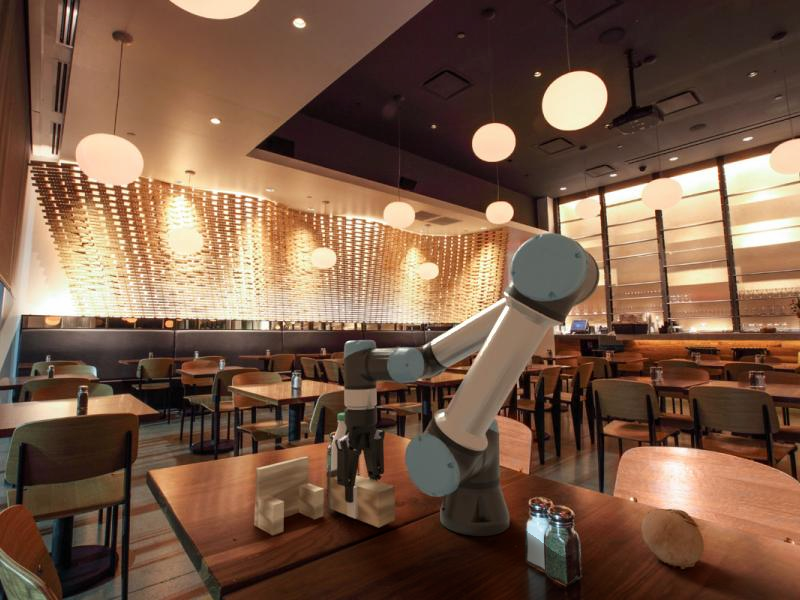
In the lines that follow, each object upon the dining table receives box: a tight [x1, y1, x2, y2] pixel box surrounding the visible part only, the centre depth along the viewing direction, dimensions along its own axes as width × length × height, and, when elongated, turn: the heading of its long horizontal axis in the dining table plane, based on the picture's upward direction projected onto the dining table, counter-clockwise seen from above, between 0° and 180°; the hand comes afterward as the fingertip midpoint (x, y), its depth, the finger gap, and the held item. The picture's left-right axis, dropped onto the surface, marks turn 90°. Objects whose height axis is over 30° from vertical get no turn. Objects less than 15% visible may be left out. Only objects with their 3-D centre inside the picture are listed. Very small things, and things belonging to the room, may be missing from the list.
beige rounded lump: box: [640, 508, 705, 570], centre depth 75 cm, size 10×9×10 cm
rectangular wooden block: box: [327, 468, 396, 528], centre depth 94 cm, size 17×5×8 cm, turn 48°
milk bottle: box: [330, 412, 360, 476], centre depth 115 cm, size 8×8×20 cm
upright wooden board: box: [253, 456, 325, 536], centre depth 94 cm, size 8×13×12 cm, turn 138°
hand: (362, 512), depth 94 cm, fingers closed on rectangular wooden block, 5 cm apart
